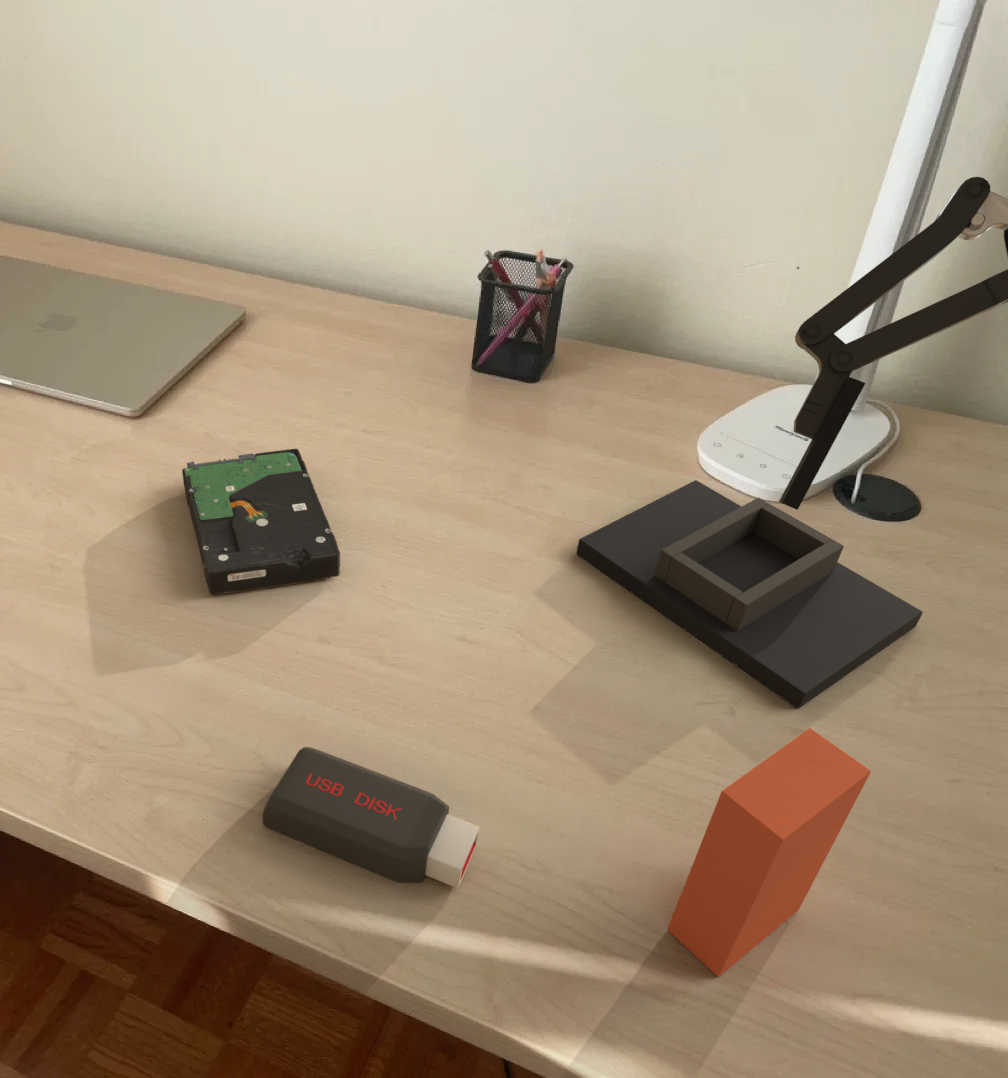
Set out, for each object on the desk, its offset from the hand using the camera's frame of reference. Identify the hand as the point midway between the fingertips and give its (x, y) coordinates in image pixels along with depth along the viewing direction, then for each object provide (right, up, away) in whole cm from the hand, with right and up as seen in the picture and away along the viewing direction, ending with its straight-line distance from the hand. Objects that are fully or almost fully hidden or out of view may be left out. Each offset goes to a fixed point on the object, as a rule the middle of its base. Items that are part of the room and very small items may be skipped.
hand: (931, 568), depth 50 cm
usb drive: (-25, -16, +14) cm, 33 cm away
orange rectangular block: (-6, -20, +9) cm, 22 cm away
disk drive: (-33, +2, +37) cm, 49 cm away
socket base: (+4, -2, +31) cm, 31 cm away
